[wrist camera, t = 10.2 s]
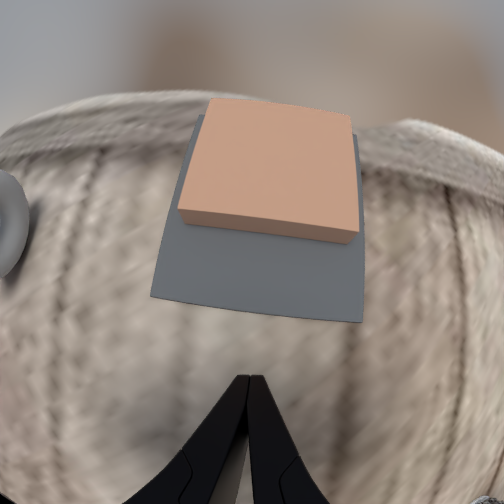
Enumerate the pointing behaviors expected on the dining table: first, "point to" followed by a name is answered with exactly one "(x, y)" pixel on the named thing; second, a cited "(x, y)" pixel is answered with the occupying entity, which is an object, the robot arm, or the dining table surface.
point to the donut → (12, 222)
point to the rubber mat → (260, 266)
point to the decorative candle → (486, 500)
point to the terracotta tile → (273, 171)
